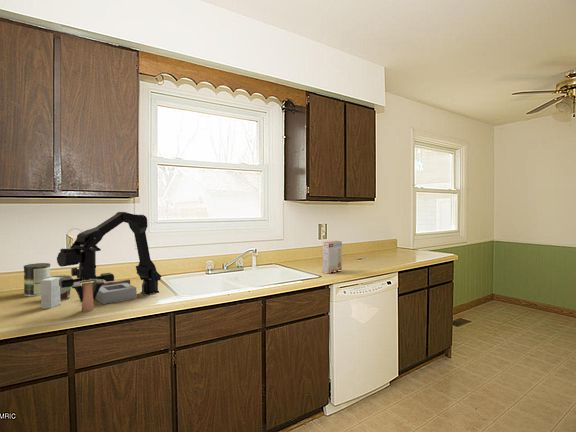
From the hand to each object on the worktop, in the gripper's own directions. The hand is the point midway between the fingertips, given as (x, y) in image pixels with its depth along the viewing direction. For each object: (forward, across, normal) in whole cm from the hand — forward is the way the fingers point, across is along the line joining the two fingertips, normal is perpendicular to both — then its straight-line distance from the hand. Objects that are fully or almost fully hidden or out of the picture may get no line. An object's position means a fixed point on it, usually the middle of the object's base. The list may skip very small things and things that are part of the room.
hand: (87, 300), depth 132 cm
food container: (+4, +4, -29) cm, 30 cm away
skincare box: (+4, +10, -16) cm, 19 cm away
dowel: (+4, 0, 0) cm, 4 cm away
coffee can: (+4, +11, -45) cm, 46 cm away
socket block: (+4, -14, -12) cm, 19 cm away
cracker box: (+4, -141, +18) cm, 142 cm away
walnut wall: (+4, -14, -20) cm, 25 cm away
